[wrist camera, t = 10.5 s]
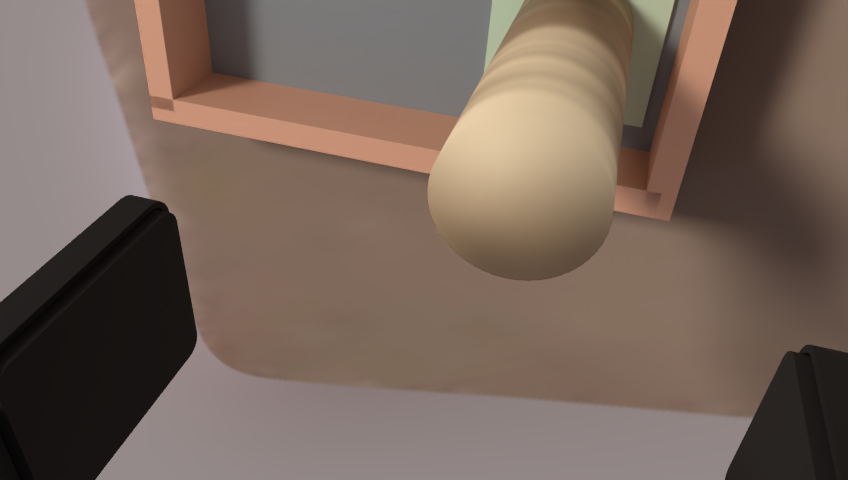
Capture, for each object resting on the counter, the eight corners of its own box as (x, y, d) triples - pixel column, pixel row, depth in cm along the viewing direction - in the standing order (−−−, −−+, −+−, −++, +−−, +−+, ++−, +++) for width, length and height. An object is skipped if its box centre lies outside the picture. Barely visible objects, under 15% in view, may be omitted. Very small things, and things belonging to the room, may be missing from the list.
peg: (525, -37, 24) (434, 102, 15) (646, -20, 24) (633, 137, 14) (509, 76, 27) (421, 259, 17) (619, 94, 26) (592, 297, 16)
